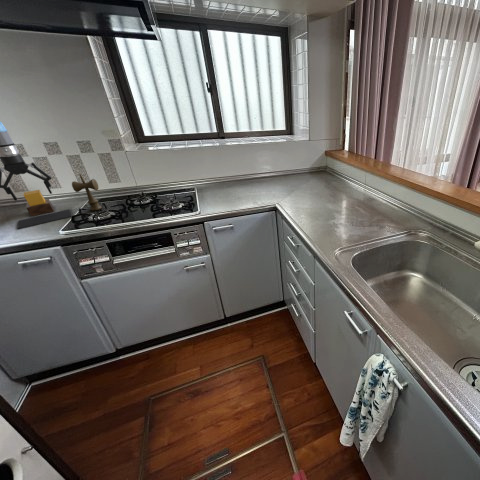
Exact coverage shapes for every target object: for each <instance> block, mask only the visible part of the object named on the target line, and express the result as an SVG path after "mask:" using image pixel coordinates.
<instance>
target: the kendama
mask: <svg viewBox="0 0 480 480" xmlns="http://www.w3.org/2000/svg"><path fill="white" fill-rule="evenodd" d="M78 175H79V178H80V180H81V182H79V181H75V180H74V181H72V182H71V187H72V189H73V191H74V192H75V193H79V192H80V191H82V190H84V189H85V193H86V195H87V204H89V206H90V209H89V210H90V212H91V211H92V212H96V211H100V210H102V209H103V206H101V205H100V204H99V200H98V199H97V198H96V197H94V195H93V194H92V192H91V190H94V191H99V183H98V181H97V180H96V179H95V178H91V179H90V180H89V181H88V182H86V181H85V180H84V177H83V176H82V174H81V173H79V174H78ZM90 189H91V190H90Z"/></svg>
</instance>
